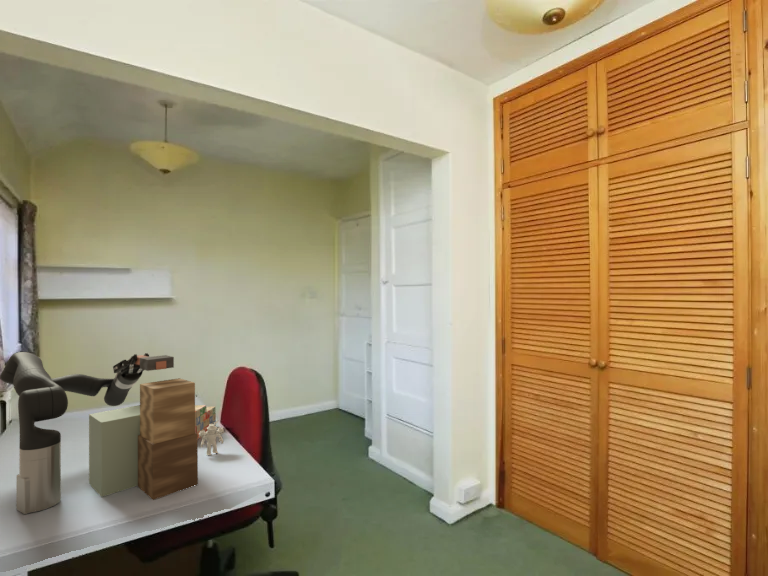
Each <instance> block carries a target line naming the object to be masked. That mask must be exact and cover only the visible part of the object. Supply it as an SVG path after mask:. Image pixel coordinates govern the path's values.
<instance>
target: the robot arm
mask: <svg viewBox="0 0 768 576" xmlns="http://www.w3.org/2000/svg"><path fill="white" fill-rule="evenodd" d="M143 355H144V356H148V357H150V354H149V353H148V352H147V353H144V354H143ZM137 356H138V354H137V353H135V354H133V355H132V356H131V357H130V358H129V359H128V360H127V359H123V360H121V361H119V362H118V363H116V364H115V365H113V366H112V368H113V369H112V370H113V373H114V374H115V377H114V378H100V377H95V376H91V375H87V374H82V373H74V374H73V373H72V374H67V375H63V376H58V377H54V378H52V377H51V376H50V374H49V373H48V372H47V371H46V369H45V367H44V364H43V361H42V359H41V358H40V357H39V356H38V355H36V354H34V353H30V352H26V351H19V352H15V353H13V354H12V355H11V356H10V357H9V359H8V361H7V362H6V364H5V365H4V368H3V370H2V371H1V374H0V380H1V381H2V382H4V383H6V384H9V385H12V386H13V388H14V390H15V393H16V394H17V396H19V397H18V401H17V408H18V410H17V411H18V426H19V447H18V448H19V449H18V450H19V455H18V456H19V457H18V458H19V459H18V460H19V463H18V465H19V467H18V468H19V474H16V481H15V483H16V484H15V485H16V491H15V492H16V494H15V495H16V503H15V504H16V505H15V506H16V510H17V511H19V512H20V513H22V514H23V515H27V514H29V513H35V512H39V511H40V512H41V511H44V510H46V509H49V508H51V507H54V506H56V505H58V504H59V503H60V502H61V499H62V485H61V484H62V480H61V479H62V474H61V473H62V472H61V471H62V470H61V469H62V465H61V464H62V461H61V460H62V458H61V457H62V455H61V453H62V442H61V441H62V436H61V432H60V431H59V430H56V429H49V428H42V427H38V426H36V425H35V423H37V422H43V421H49V420H53V419H58V418H60V417H62V416H63V415H65V413H66V412H67V410H68V406H69V399H68V395H67V392H69V393H74V394H79V395H84V396H88V397H96V396H97V395H98V394H99V392H101V390H102V388H106V391H105V394H104V397H103V401H104V403H105V404H106V405H107V406H109V407H118V406H120V405H122V404H124V402H125V401H126V399H127V396H128V394H129V391H130V390H131V389H132V388H133V386H134V385H135V384H136V383H137V382H138V381H139V379H140V378H141V376H142V375H143V372H144V371H145V370H143V369H140V365H138V364H135V362H136V361H137Z"/></svg>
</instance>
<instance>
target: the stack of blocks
mask: <svg viewBox="0 0 768 576" xmlns="http://www.w3.org/2000/svg"><path fill="white" fill-rule="evenodd" d="M216 421H217V414H216V406H207V404H202V405H200V404H198V405H197V404H195V433H197V435H198V438H199V437H200V438H202V437H201V436H199V433H200V431H205V433H206V432H207V430H208V429H207V427H208V426H209V424H214V422H216ZM215 427H217V424H216V425H215ZM200 438H199V439H200Z"/></svg>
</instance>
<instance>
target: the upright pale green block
mask: <svg viewBox="0 0 768 576" xmlns="http://www.w3.org/2000/svg"><path fill="white" fill-rule="evenodd" d="M138 435H140V404H138V405H132V406H127V407H122V408H121V407H120V408H117V409H109V410H106V411H99V412H93V413H89V414H88V483H89V486H91V487H92V488H93V489H94V491H96V492H97V493H96V494H98V495H99V496H100V497H101V498H102V497H106V496H108V495H112V494H116V493H118V492H121V491H125V490H128V489H131V488H134V487H138Z"/></svg>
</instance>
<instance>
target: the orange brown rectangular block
mask: <svg viewBox="0 0 768 576" xmlns="http://www.w3.org/2000/svg"><path fill="white" fill-rule="evenodd" d="M174 360H175V358H174V356H171V355H167V354H164V355H154V356H149V357H148V356H144V354H143V355H142V354H141V355H140V354H139V355H138V354H137V361H136V362H135V364H138V365H140V369H143V370H144V371H147V372H149V371H156V370H157V371H159V370H166V369H172V368H175V364H174V362H175V361H174Z"/></svg>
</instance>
